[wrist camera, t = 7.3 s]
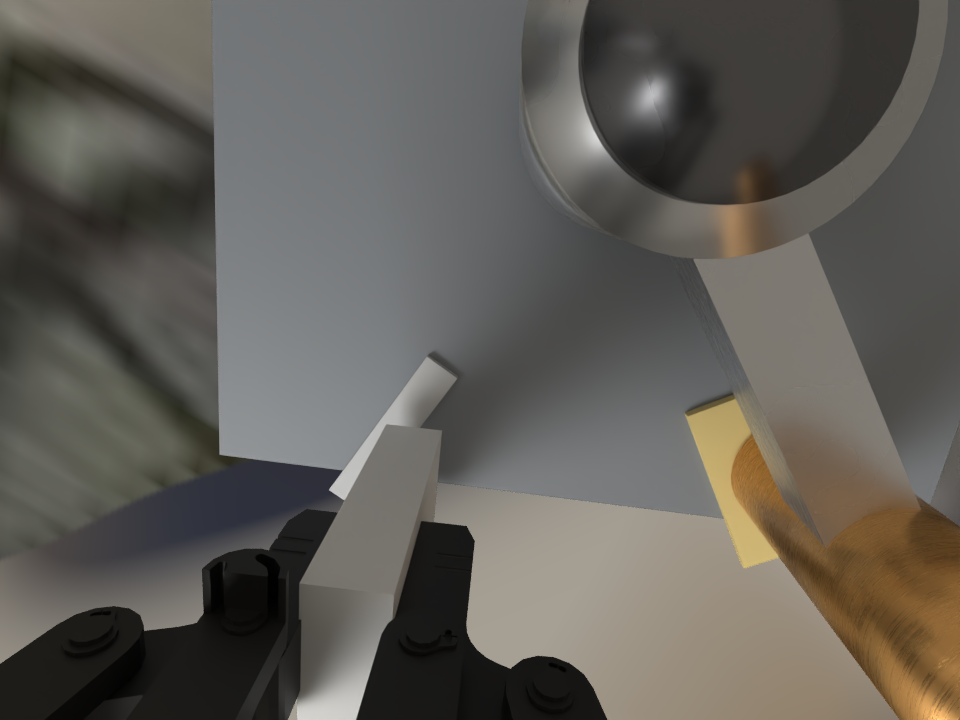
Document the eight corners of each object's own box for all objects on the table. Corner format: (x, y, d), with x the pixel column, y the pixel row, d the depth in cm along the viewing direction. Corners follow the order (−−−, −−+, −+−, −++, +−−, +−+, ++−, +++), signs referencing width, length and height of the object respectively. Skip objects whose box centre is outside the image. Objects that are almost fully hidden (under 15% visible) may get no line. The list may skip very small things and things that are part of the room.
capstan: (480, 80, 13) (410, -164, 4) (680, -44, 13) (1095, -659, 4) (718, 548, 16) (965, 971, 7) (894, 474, 15) (1422, 854, 6)
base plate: (250, 465, 19) (215, 500, 17) (249, -376, 13) (195, -492, 11) (861, 543, 18) (908, 589, 16) (1140, -300, 13) (1273, -407, 10)
